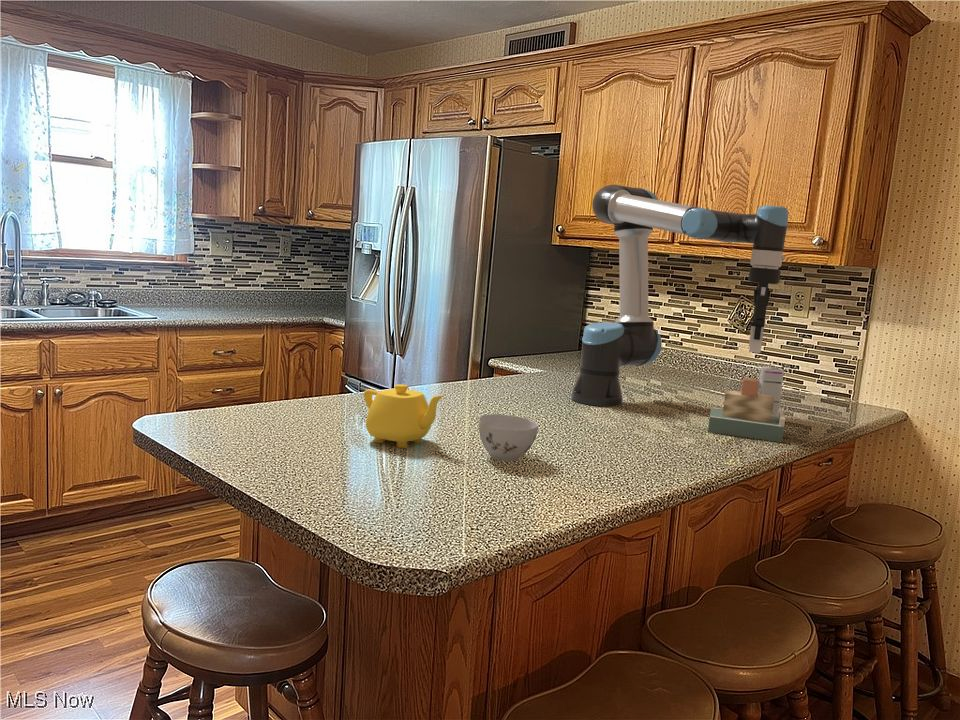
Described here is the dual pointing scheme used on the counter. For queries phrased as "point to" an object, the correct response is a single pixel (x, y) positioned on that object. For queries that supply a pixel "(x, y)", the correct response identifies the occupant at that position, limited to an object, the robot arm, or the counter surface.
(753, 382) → the orange cube
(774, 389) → the syrup box
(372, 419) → the teapot
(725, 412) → the tan rectangular block
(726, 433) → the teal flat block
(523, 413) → the counter surface
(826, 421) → the counter surface
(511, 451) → the teacup
